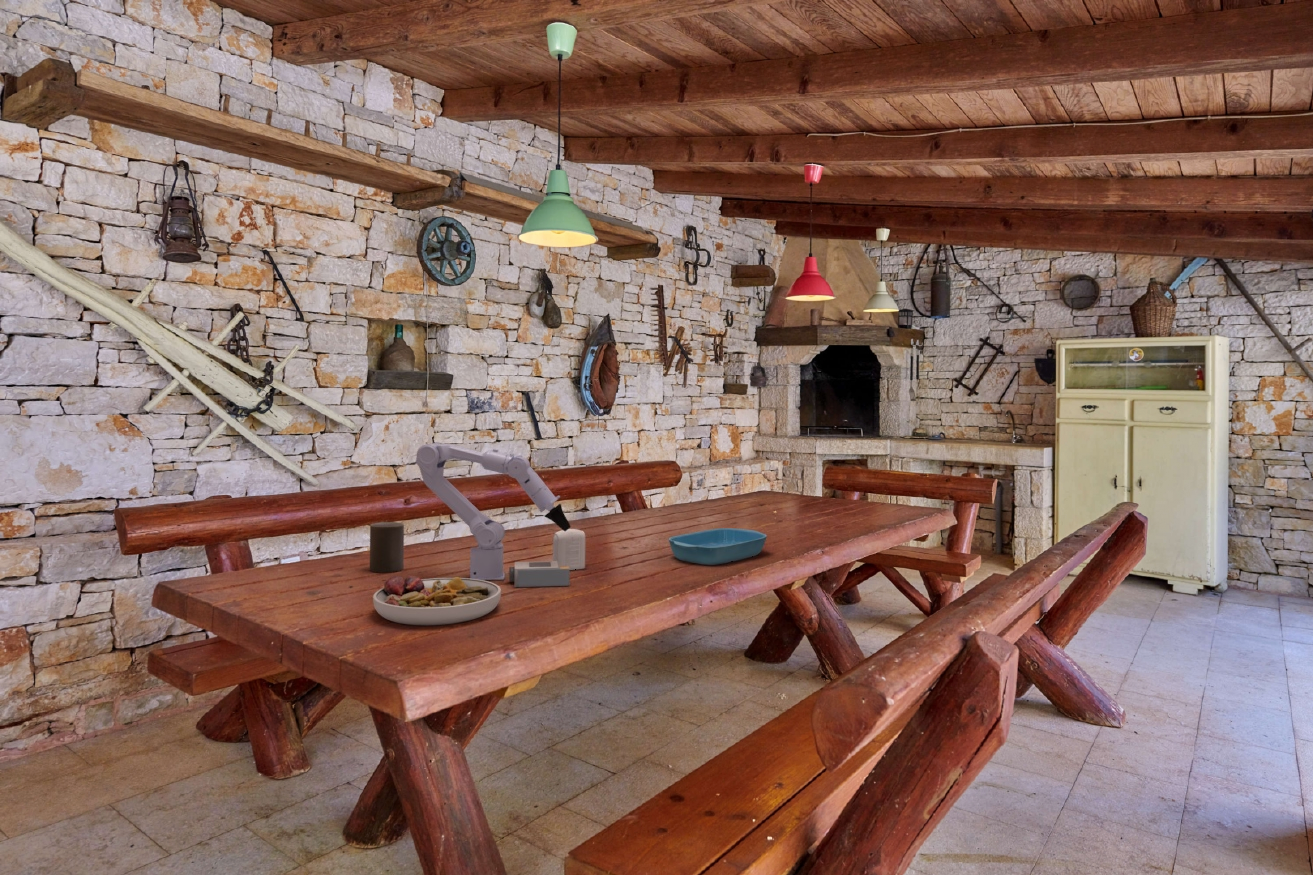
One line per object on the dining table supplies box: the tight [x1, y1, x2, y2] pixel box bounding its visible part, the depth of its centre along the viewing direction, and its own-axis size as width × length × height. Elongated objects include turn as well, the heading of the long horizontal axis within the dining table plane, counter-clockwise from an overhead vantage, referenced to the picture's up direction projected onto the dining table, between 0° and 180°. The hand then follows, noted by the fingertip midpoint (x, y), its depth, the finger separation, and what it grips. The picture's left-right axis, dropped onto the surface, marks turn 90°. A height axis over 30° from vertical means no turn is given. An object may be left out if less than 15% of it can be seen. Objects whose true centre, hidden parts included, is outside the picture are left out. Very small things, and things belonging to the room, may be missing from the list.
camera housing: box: [508, 560, 558, 582], centre depth 223 cm, size 14×9×5 cm, turn 99°
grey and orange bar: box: [513, 567, 570, 588], centre depth 219 cm, size 15×4×5 cm, turn 99°
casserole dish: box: [668, 527, 768, 566], centre depth 262 cm, size 37×22×7 cm, turn 136°
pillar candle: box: [369, 519, 405, 574], centre depth 237 cm, size 10×10×15 cm
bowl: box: [372, 575, 502, 626], centre depth 193 cm, size 30×30×8 cm
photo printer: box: [552, 528, 586, 571], centre depth 240 cm, size 10×4×12 cm, turn 123°
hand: (567, 528), depth 226 cm, fingers open, 7 cm apart
